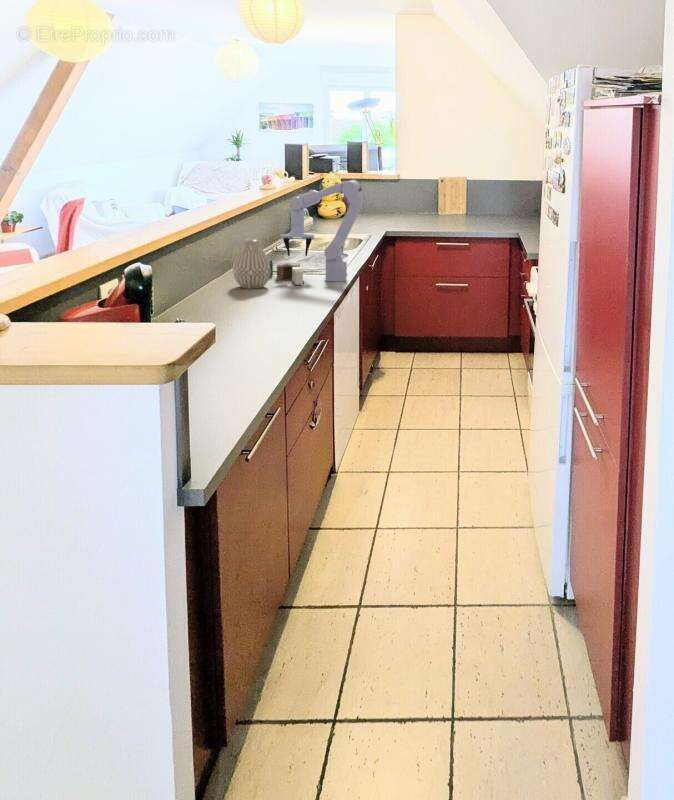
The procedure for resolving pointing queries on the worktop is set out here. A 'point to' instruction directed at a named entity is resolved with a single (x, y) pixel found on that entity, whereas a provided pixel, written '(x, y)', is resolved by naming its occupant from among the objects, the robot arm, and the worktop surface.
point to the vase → (251, 266)
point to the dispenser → (285, 269)
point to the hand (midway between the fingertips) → (297, 255)
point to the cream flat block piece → (297, 275)
